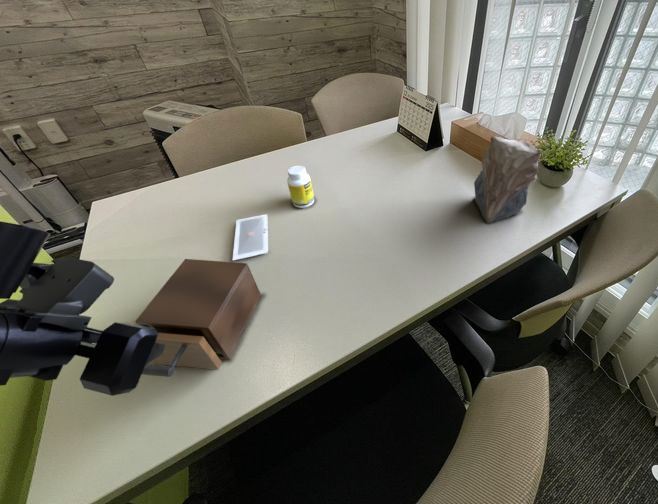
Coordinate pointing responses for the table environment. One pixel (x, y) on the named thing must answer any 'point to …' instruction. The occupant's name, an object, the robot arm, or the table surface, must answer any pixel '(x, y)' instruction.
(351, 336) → the table surface
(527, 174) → the brown grey rock
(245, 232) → the touchpad
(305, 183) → the pill bottle
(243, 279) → the cabinet
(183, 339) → the drawer
